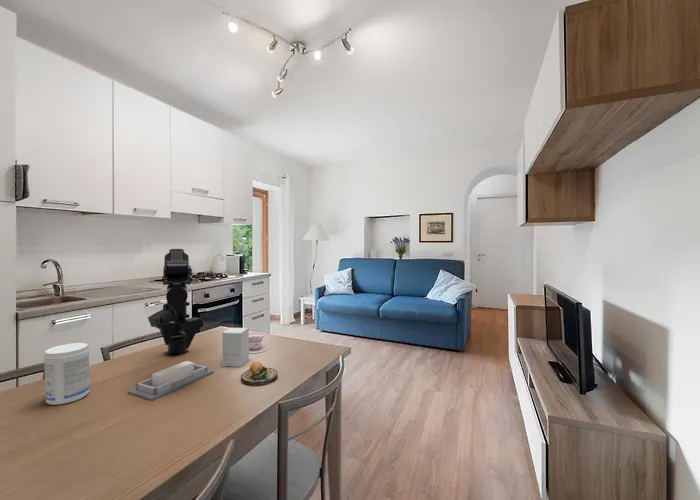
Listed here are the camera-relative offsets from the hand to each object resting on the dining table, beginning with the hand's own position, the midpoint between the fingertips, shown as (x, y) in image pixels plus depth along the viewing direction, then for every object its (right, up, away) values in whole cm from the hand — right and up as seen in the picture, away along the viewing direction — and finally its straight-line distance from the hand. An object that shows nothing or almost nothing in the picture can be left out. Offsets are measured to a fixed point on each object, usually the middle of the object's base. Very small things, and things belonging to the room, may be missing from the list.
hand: (176, 346), depth 104 cm
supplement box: (+14, -11, +15) cm, 23 cm away
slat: (0, -10, -2) cm, 10 cm away
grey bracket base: (0, -11, -2) cm, 11 cm away
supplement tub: (-24, -11, -13) cm, 30 cm away
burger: (+27, -12, +1) cm, 29 cm away
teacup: (+17, -11, +31) cm, 37 cm away
